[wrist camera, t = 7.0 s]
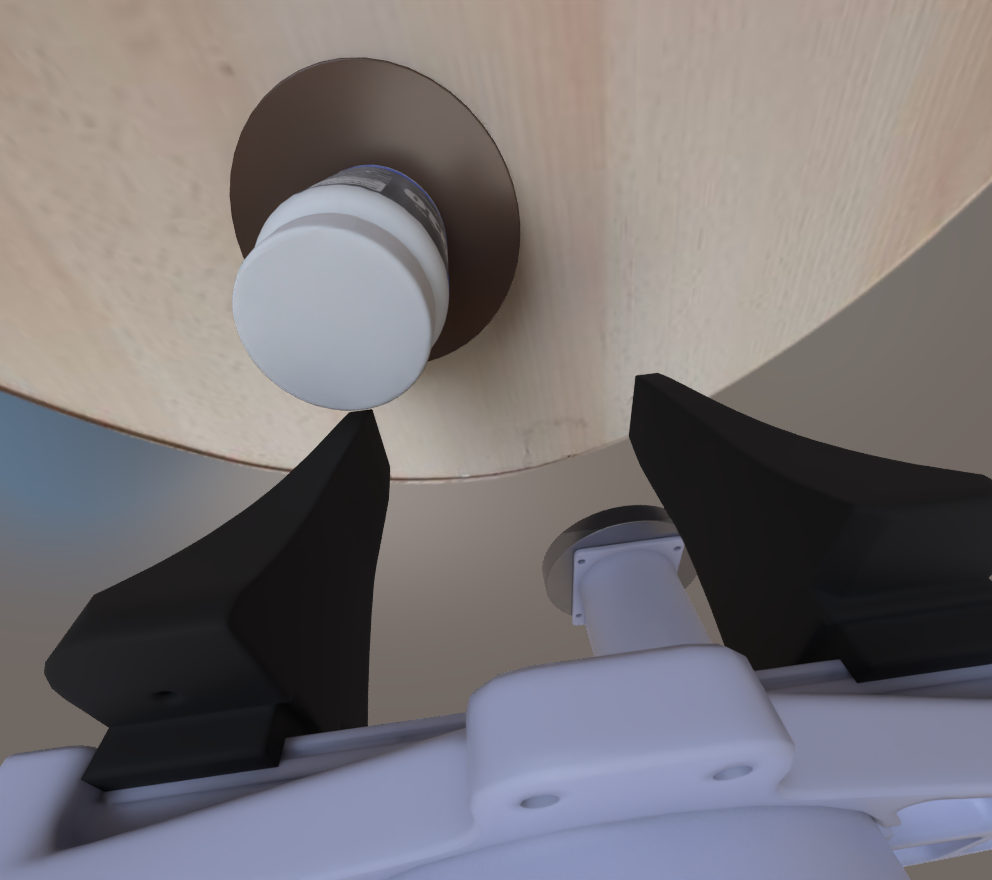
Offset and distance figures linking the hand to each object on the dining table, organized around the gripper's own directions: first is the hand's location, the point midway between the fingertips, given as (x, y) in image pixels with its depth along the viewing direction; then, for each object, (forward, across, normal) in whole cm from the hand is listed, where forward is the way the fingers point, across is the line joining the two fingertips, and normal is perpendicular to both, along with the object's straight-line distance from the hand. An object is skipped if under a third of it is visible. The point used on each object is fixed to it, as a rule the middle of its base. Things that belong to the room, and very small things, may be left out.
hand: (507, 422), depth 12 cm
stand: (+10, +3, -4) cm, 11 cm away
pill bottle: (+7, +4, -4) cm, 9 cm away
